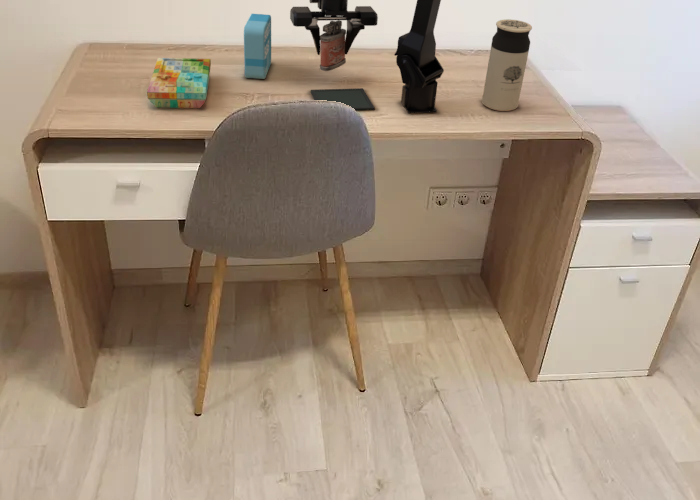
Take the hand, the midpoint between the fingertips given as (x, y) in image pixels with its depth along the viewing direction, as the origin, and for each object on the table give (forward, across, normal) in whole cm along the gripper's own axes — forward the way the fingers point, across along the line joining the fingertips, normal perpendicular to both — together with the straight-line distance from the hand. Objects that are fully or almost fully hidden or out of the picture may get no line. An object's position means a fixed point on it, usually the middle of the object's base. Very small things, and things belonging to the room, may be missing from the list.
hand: (332, 54), depth 169 cm
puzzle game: (+6, +34, +4) cm, 35 cm away
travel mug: (+7, -35, +17) cm, 39 cm away
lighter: (+3, 0, 0) cm, 3 cm away
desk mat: (+6, 0, +12) cm, 14 cm away
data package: (+6, +16, -7) cm, 19 cm away
